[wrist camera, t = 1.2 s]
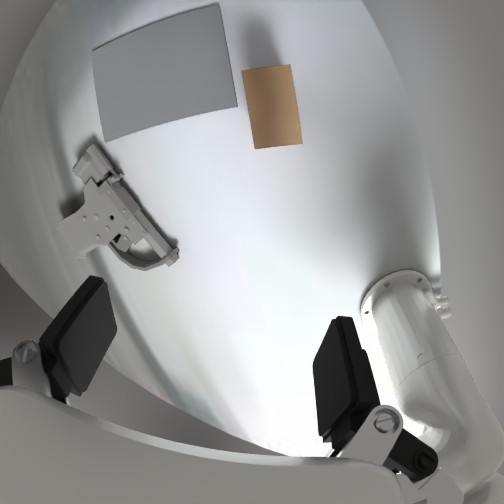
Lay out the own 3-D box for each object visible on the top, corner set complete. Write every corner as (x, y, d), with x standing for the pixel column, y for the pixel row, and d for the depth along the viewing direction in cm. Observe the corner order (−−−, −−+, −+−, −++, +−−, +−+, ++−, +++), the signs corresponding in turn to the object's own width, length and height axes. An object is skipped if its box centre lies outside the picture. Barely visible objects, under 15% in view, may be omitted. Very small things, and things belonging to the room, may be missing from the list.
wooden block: (287, 79, 26) (290, 64, 18) (295, 136, 29) (302, 143, 21) (251, 83, 27) (241, 70, 19) (261, 140, 30) (254, 149, 22)
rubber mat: (219, 6, 22) (218, 4, 21) (237, 106, 28) (237, 106, 27) (93, 52, 24) (91, 52, 24) (107, 141, 31) (105, 142, 30)
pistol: (40, 214, 34) (88, 144, 28) (52, 207, 37) (101, 140, 31) (115, 305, 40) (180, 259, 35) (123, 295, 43) (187, 248, 38)
